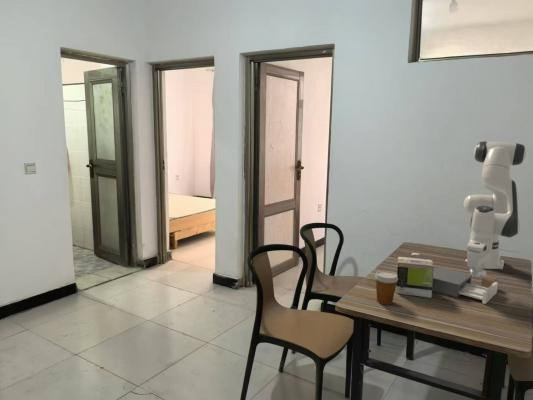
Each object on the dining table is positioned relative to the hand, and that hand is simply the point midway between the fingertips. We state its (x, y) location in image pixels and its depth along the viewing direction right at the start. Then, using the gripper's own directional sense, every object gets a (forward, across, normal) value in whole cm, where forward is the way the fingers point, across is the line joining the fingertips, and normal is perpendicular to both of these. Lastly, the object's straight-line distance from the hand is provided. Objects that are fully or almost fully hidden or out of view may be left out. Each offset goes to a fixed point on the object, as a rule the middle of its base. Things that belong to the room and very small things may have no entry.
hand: (477, 273), depth 177 cm
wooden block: (+10, -13, +2) cm, 17 cm away
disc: (0, 0, 0) cm, 0 cm away
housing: (+10, 0, -12) cm, 16 cm away
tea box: (+10, +17, -21) cm, 29 cm away
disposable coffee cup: (+10, +36, -25) cm, 45 cm away
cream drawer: (+9, 0, -1) cm, 9 cm away
